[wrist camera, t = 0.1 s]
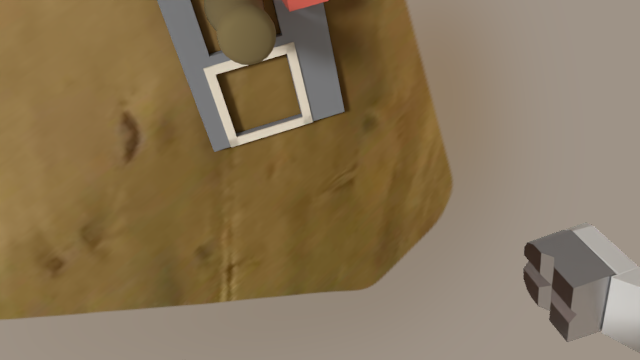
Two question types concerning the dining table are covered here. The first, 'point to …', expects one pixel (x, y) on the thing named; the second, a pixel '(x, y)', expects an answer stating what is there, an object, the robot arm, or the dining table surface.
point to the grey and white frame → (294, 40)
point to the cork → (242, 29)
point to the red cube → (300, 3)
